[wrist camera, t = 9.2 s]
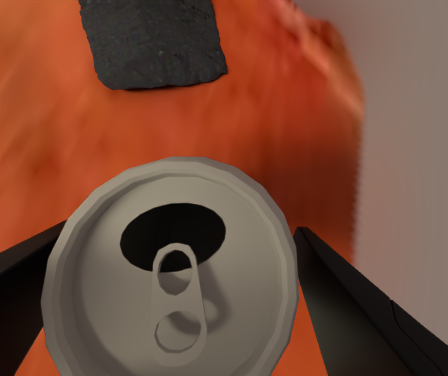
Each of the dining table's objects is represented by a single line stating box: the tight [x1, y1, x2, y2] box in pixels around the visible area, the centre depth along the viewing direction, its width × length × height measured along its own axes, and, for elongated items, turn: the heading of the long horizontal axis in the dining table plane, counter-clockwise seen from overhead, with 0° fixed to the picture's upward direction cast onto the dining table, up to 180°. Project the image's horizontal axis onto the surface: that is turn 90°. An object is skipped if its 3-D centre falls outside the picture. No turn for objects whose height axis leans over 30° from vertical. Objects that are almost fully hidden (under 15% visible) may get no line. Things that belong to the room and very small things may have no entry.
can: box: [41, 157, 299, 376], centre depth 10 cm, size 8×8×12 cm
